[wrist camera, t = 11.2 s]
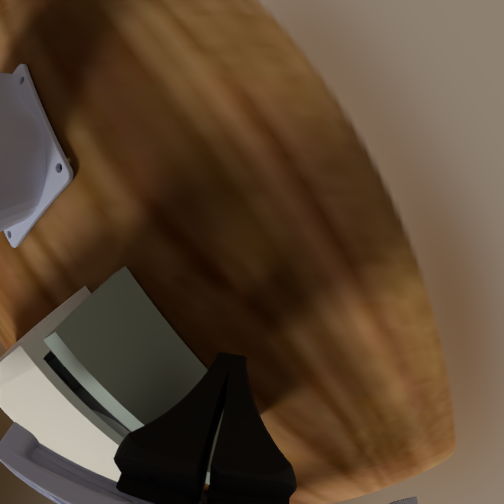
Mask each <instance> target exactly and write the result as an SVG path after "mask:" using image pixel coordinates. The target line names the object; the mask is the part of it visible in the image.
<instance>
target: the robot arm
mask: <svg viewBox="0 0 504 504" xmlns="http://www.w3.org/2000/svg"><path fill="white" fill-rule="evenodd" d="M60 165H62V171H61V169H60ZM72 179H73V170H72V168H71V166H70V164H69V162H68V160H67V158H66V156H65V154H64V152H63V150H62V148H61V146H60V144H59V142H58V140H57V138H56V136H55V134H54V132H53V129H52V127H51V125H50V123H49V121H48V118H47V116H46V114H45V111H44V109H43V107H42V104H41V102H40V100H39V97H38V95H37V92H36V89H35V87H34V84H33V82H32V79H31V76H30V73H29V71H28V68H27V65H26V64H20V65H19V66H18V67H17V68H16V70H15V71H14V72H13V74H9V73H0V232H1V231H4V233H5V235H6V237H7V239H8V241H9V242H10V244H11V246H12V247H14V248H16V247H17V246H19V245H20V243H21V242H22V241H23V239H24V238H25V236H26V235H27V234H28V232H29V231H30V230H31V228H32V227H33V226H34V225H35V223H36V222H37V221H38V219H39V218H40V217H41V216H42V214H43V213H44V212H45V211H46V210H47V208H48V207H49V206H50V205H51V204H52V202H53V201H54V200H55V199H56V198H57V197H58V195H59V194H60V193H61V192H62V191H63V190H64V189H65V188H66V187H67V185H68V184H69V183H70V182H71V181H72ZM223 410H224V411H223ZM222 413H223V416H222ZM221 416H222V420H221V424H220V429H219V433H218V437H217V441H216V445H215V449H214V453H213V457H212V461H211V465H210V483H209V488H208V493H207V504H289V498H290V496H291V495H292V494H293V493H294V492H295V490H296V488H297V485H296V478H295V474H294V471H293V468H292V465H291V464H290V462H289V461H288V460H287V459H286V458H285V456H284V455H283V454H282V453H281V451H280V450H279V448H278V447H277V445H276V444H275V443H274V441H273V439H272V438H271V436H270V434H269V433H268V431H267V429H266V427H265V425H264V423H263V421H262V419H261V417H260V415H259V413H258V410H257V408H256V405H255V402H254V399H253V396H252V393H251V389H250V385H249V381H248V376H247V369H246V358H245V356H239V355H233V354H227V353H222V352H220V353H218V355H217V357H216V359H215V361H214V362H213V364H212V365H211V367H210V368H209V370H208V371H207V372H206V374H205V375H204V376H203V377H202V379H201V380H200V381H199V382H198V383H197V384H196V386H195V387H194V388H193V389H192V390H191V391H190V392H189V393H188V394H187V395H186V396H185V397H184V398H183V399H182V400H181V401H179V402H178V403H177V404H176V405H175V406H173V407H172V408H171V409H169V410H168V411H167V412H165V413H164V414H163V415H161V416H160V417H158V418H156V419H155V420H153V421H151V422H150V423H148V424H146V425H144V426H142V427H140V428H138V429H136V430H134V431H132V432H130V433H128V434H127V435H126V437H125V438H124V439H123V441H122V442H121V444H120V445H119V447H118V449H117V451H116V454H115V456H114V458H113V459H114V462H115V464H116V465H117V467H118V469H119V470H120V472H121V475H120V477H119V480H118V482H116V481H114V480H111V479H109V478H107V477H104V476H102V475H100V474H97V473H95V472H93V471H91V470H89V469H87V468H84V467H82V466H80V465H78V464H76V463H74V462H72V461H71V460H69V459H67V458H65V457H63V456H61V455H60V454H58V453H56V452H54V451H53V450H51V449H49V448H47V447H46V446H44V445H42V444H41V443H39V441H38V440H37V438H36V437H35V436H34V435H33V434H32V433H31V432H30V431H28V430H27V429H25V428H24V427H22V426H21V425H19V424H18V423H17V422H14V423H13V424H12V426H11V427H10V429H9V430H8V432H7V433H6V434H5V436H4V437H3V439H2V440H1V442H0V461H1V462H2V463H3V464H4V465H5V466H6V467H7V468H8V469H9V470H10V471H12V472H13V473H14V474H15V475H16V476H17V477H19V478H20V479H21V480H23V481H24V482H25V483H27V484H28V485H30V486H31V487H32V488H34V489H35V490H37V491H38V492H40V493H41V494H43V495H44V496H46V497H47V498H49V499H50V500H52V501H54V502H55V503H57V504H201V503H202V498H203V493H204V487H205V482H206V477H207V472H208V467H209V462H210V457H211V452H212V447H213V442H214V438H215V435H216V432H217V429H218V425H219V422H220V419H221ZM390 504H418V503H417V498H416V497H411V498H407V499H403V500H398V501H395V502H392V503H390Z"/></svg>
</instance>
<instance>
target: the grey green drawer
mask: <svg viewBox="0 0 504 504" xmlns="http://www.w3.org/2000/svg"><path fill="white" fill-rule="evenodd" d="M44 342H45V343H46V344H47V346H48V347H49V348H50V349H51V350H50V351H49V352H48V354H47V355H46V356H45V357H44V358H43V359H44V360H45V361H46V363H47V364H48V365H49V366H50V367H51V368H52V370H53V371H54V372H55V373H56V374H57V375H58V376H59V378H60V379H61V380H62V381H63V382H64V383H65V384H66V385H67V386H68V387H69V388H70V389H71V390H72V391H73V393H75V392H76V390H77V389H78V387H79V386H80V384H81V385H82V386H83V387H84V388H85V389H86V390H87V391H88V392H89V393H90V394H91V395H92V396H93V397H94V398H95V399H96V400H97V401H98V402H99V403H100V404H101V405H102V406H103V407H105V408H106V409H107V410H108V411H109V412H110V413H111V414H112V415H113V416H114V417H115V418H117V419H118V420H119V421H120V422H121V423H122V424H124V425H125V426H126V427H127V428H128V429H129V430H131V431H134V430H136V429H138V428H140V427H142V426H144V425H146V424H148V423H150V422H151V421H153V420H155V419H156V418H158V417H160V416H161V415H163V414H164V413H165V412H167V411H168V410H169V409H171V408H172V407H173V406H175V405H176V404H177V403H178V402H179V401H181V400H182V399H183V398H184V397H185V396H186V395H187V394H188V393H189V392H190V391H191V390H192V389H193V388H194V387H195V386H196V384H197V383H198V382H199V381H200V380H201V379H202V377H203V376H204V375H205V374H206V372H207V371H208V370H207V369H206V367H205V366H204V365H203V364H202V363H201V362H200V361H199V360H198V358H197V357H196V356H195V355H194V354H193V353H192V351H191V350H190V349H189V348H188V347H187V346H186V344H185V343H184V342H183V341H182V340H181V338H180V337H179V336H178V335H177V334H176V332H175V331H174V330H173V329H172V327H171V326H170V325H169V324H168V322H167V321H166V320H165V319H164V317H163V316H162V315H161V314H160V312H159V311H158V310H157V308H156V307H155V306H154V304H153V303H152V302H151V300H150V299H149V298H148V296H147V295H146V294H145V292H144V291H143V290H142V288H141V287H140V286H139V284H138V283H137V281H136V280H135V279H134V277H133V276H132V274H131V273H130V271H129V270H128V269H127V267H126V266H124V267H123V268H122V269H120V270H119V271H117V272H116V273H114V274H113V275H112V276H110V277H109V278H108V279H107V280H106V281H105V282H104V283H103V284H101V285H100V286H99V287H98V288H97V289H96V290H95V291H94V292H93V293H91V294H90V295H89V296H88V297H87V298H86V299H85V300H84V301H83V302H82V303H81V304H80V305H79V306H77V307H76V308H75V309H74V310H73V311H72V312H71V313H70V314H69V315H68V316H67V317H66V318H65V319H64V320H63V321H62V322H61V323H60V324H59V325H58V326H57V327H56V328H55V329H54V330H53V331H52V332H51V333H50V334H49V335H48V336H47V337H46V338H45V339H44ZM223 411H224V410H223ZM222 416H223V413H222ZM222 416H221V419H220V422H219V425H218V429H217V432H216V435H215V438H214V442H213V447H212V452H211V457H210V462H209V467H208V472H207V477H206V482H205V483H207V484H209V483H210V465H211V461H212V457H213V453H214V449H215V445H216V441H217V437H218V433H219V429H220V424H221V420H222Z"/></svg>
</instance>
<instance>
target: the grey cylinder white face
mask: <svg viewBox="0 0 504 504" xmlns="http://www.w3.org/2000/svg"><path fill="white" fill-rule="evenodd" d="M74 394H75V395H76V396H77V397H78V398H79V399H80V400H81V401H82V402H83V403H84V404H86V405H87V406H88V407H89V408H90V409H91V410H92V411H93V412H94V413H95V414H96V415H97V416H98V417H99V418H101V419H102V420H103V421H104V422H105V423H106V424H107V425H109V426H110V427H111V428H112V429H113V430H114V431H116V432H117V433H118V434H119V435H121V436H122V437H123V438H125V437H126V435H127V434H128V433H130V432H132V431H131V430H129V429H128V428H127V427H126V426H125V425H124V424H122V423H121V422H120V421H119V420H118V419H117V418H115V417H114V416H113V415H112V414H111V413H110V412H109V411H108V410H107V409H106V408H105V407H103V406H102V405H101V404H100V403H99V402H98V401H97V400H96V399H95V398H94V397H93V396H92V395H91V394H90V393H89V392H88V391H87V390H86V389H85V388H84V387H83V386H82V385H81V384H80V386H79V387H78V389H77V390H76V392H75V393H74Z"/></svg>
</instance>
